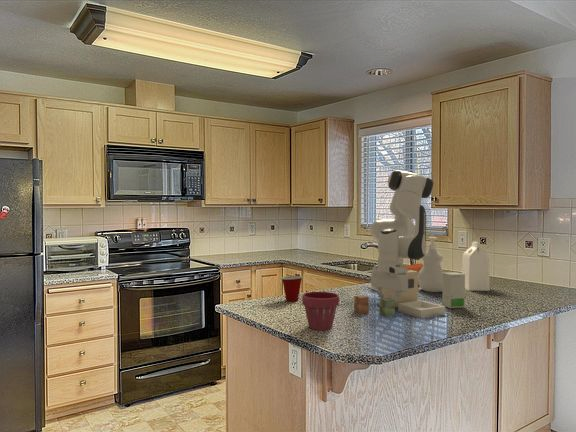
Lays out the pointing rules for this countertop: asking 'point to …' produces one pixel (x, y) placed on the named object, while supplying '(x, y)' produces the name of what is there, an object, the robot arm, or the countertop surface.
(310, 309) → the plant pot
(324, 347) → the countertop surface
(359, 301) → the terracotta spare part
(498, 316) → the countertop surface
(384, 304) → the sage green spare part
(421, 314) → the parts tray
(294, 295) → the plastic cup
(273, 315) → the countertop surface
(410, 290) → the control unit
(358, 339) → the countertop surface
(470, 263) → the milk
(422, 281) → the soap bottle
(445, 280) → the skincare box
